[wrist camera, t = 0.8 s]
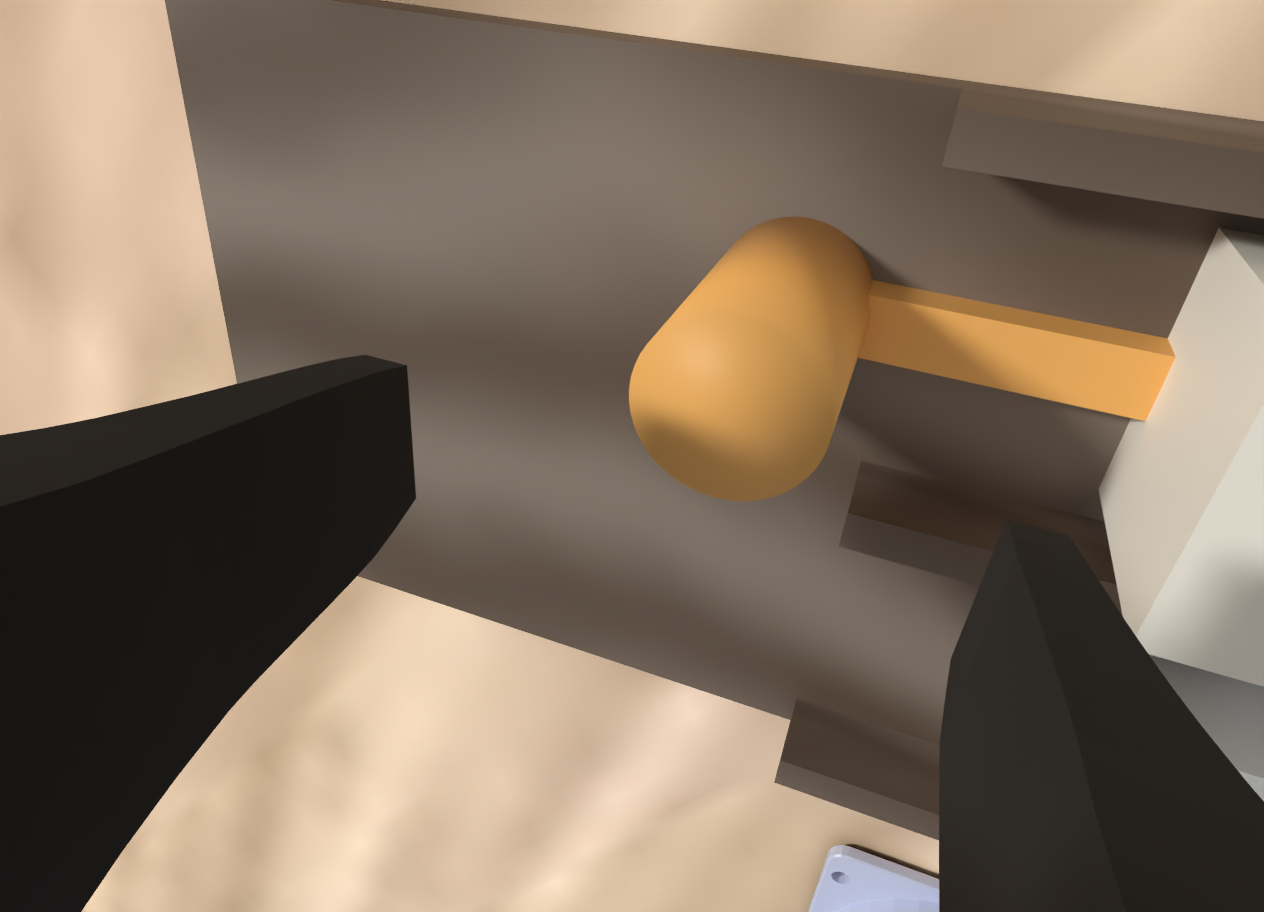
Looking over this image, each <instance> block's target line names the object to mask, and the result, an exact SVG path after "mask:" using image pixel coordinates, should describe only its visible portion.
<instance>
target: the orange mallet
mask: <svg viewBox="0 0 1264 912" xmlns="http://www.w3.org/2000/svg"><path fill="white" fill-rule="evenodd" d="M857 358H862V359H867V360H871V361H876V362H880V363H885V364H889V365H894V366H898V367H903V368H907V369H912V370H916V371H921V372H925V373H930V374H934V375H939V376H943V377H948V378H952V379H957V380H961V381H966V382H970V383H975V384H979V385H984V386H988V387H993V388H998V389H1002V390H1007V391H1011V392H1016V393H1020V394H1025V395H1029V396H1034V397H1038V398H1043V399H1047V400H1052V401H1056V402H1061V403H1065V404H1070V405H1074V406H1079V407H1083V408H1088V409H1092V410H1097V411H1101V412H1106V413H1110V414H1115V415H1119V416H1124V417H1128V418H1131V420H1130V422H1129V424H1128V426H1127V428H1126V430H1125V433H1124V435H1123V437H1122V439H1121V441H1120V443H1119V446H1118V448H1117V450H1116V452H1115V454H1114V456H1113V459H1112V461H1111V463H1110V465H1109V467H1108V469H1107V472H1106V474H1105V476H1104V478H1103V480H1102V483H1101V485H1100V487H1099V495H1100V500H1101V505H1102V510H1103V516H1104V521H1105V526H1106V531H1107V537H1108V542H1109V547H1110V552H1111V558H1112V563H1113V568H1114V573H1115V579H1116V584H1117V589H1118V594H1119V600H1120V605H1121V610H1122V615H1123V618H1124V619H1125V621H1126V622H1127V624H1128V625H1129V627H1130V628H1131V630H1132V631H1133V632H1134V634H1135V635H1136V637H1137V638H1138V640H1139V641H1140V643H1141V644H1142V646H1143V647H1144V648H1145V650H1146V651H1147V653H1148V654H1150V655H1153V656H1157V657H1160V658H1164V659H1168V660H1171V661H1175V662H1178V663H1182V664H1185V665H1189V666H1192V667H1196V668H1199V669H1203V670H1206V671H1210V672H1213V673H1217V674H1220V675H1224V676H1227V677H1231V678H1235V679H1238V680H1242V681H1245V682H1249V683H1252V684H1256V685H1259V686H1263V687H1264V235H1260V234H1254V233H1248V232H1242V231H1236V230H1230V229H1224V228H1218V231H1217V233H1216V235H1215V237H1214V239H1213V241H1212V244H1211V246H1210V248H1209V250H1208V252H1207V254H1206V257H1205V259H1204V261H1203V263H1202V265H1201V267H1200V270H1199V272H1198V274H1197V276H1196V278H1195V280H1194V283H1193V285H1192V287H1191V289H1190V291H1189V294H1188V296H1187V298H1186V300H1185V302H1184V304H1183V307H1182V309H1181V311H1180V313H1179V315H1178V317H1177V320H1176V322H1175V324H1174V326H1173V328H1172V330H1171V333H1170V335H1169V337H1168V338H1163V337H1158V336H1153V335H1147V334H1142V333H1137V332H1132V331H1127V330H1122V329H1117V328H1112V327H1107V326H1102V325H1097V324H1092V323H1087V322H1082V321H1077V320H1072V319H1067V318H1062V317H1057V316H1052V315H1047V314H1042V313H1037V312H1032V311H1026V310H1021V309H1016V308H1011V307H1006V306H1001V305H996V304H991V303H986V302H981V301H976V300H971V299H966V298H961V297H956V296H951V295H946V294H941V293H936V292H931V291H926V290H921V289H916V288H910V287H905V286H900V285H895V284H890V283H885V282H880V281H875V280H873V277H872V273H871V270H870V267H869V265H868V262H867V260H866V259H865V257H864V255H863V253H862V252H861V251H860V249H859V248H858V247H857V245H856V244H855V243H854V242H853V241H852V240H851V239H850V238H849V237H848V236H846V235H845V234H844V233H842V232H841V231H840V230H838V229H837V228H835V227H833V226H831V225H829V224H827V223H824V222H822V221H819V220H816V219H812V218H806V217H781V218H776V219H772V220H769V221H766V222H763V223H761V224H759V225H757V226H755V227H753V228H752V229H750V230H748V231H747V232H746V233H745V234H743V235H742V236H741V237H740V238H739V239H738V240H737V241H736V242H735V243H734V244H733V245H732V246H731V248H730V249H729V250H728V251H727V252H726V253H725V255H724V256H723V257H722V258H721V259H720V260H719V262H718V263H717V264H716V265H715V266H714V267H713V268H712V270H711V271H710V272H709V273H708V274H707V275H706V277H705V278H704V279H703V280H702V281H701V282H700V283H699V285H698V286H697V287H696V288H695V289H694V290H693V292H692V293H691V294H690V295H689V296H688V297H687V298H686V300H685V301H684V302H683V303H682V304H681V305H680V307H679V308H678V309H677V310H676V311H675V312H674V313H673V315H672V316H671V317H670V318H669V319H668V320H667V322H666V323H665V324H664V325H663V326H662V327H661V328H660V330H659V331H658V332H657V333H656V334H655V335H654V337H653V338H652V339H651V340H650V341H649V342H648V343H647V345H646V346H645V348H644V349H643V350H642V352H641V353H640V355H639V357H638V359H637V361H636V363H635V365H634V368H633V372H632V375H631V379H630V386H629V405H630V412H631V416H632V420H633V424H634V427H635V429H636V432H637V434H638V436H639V438H640V440H641V442H642V444H643V445H644V447H645V448H646V450H647V451H648V453H649V454H650V456H651V457H652V458H653V459H654V460H655V461H656V462H657V464H658V465H659V466H660V467H661V468H662V469H664V470H665V471H666V472H667V473H668V474H669V475H671V476H672V477H673V478H675V479H676V480H677V481H679V482H680V483H682V484H684V485H686V486H687V487H689V488H691V489H693V490H695V491H698V492H700V493H702V494H705V495H708V496H712V497H715V498H720V499H725V500H733V501H754V500H762V499H766V498H770V497H774V496H777V495H779V494H782V493H784V492H787V491H789V490H790V489H792V488H794V487H796V486H797V485H799V484H800V483H801V482H803V481H804V480H805V479H806V478H807V477H808V476H809V475H810V474H811V473H812V472H813V471H814V470H815V469H816V468H817V466H818V465H819V463H820V462H821V461H822V459H823V457H824V455H825V453H826V451H827V449H828V446H829V443H830V440H831V437H832V434H833V431H834V428H835V425H836V422H837V419H838V416H839V413H840V410H841V407H842V404H843V401H844V398H845V394H846V391H847V388H848V385H849V382H850V379H851V376H852V373H853V370H854V367H855V364H856V361H857Z"/></svg>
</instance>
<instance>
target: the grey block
mask: <svg viewBox="0 0 1264 912" xmlns="http://www.w3.org/2000/svg"><path fill="white" fill-rule="evenodd" d="M1149 655H1150V654H1149ZM1150 657H1151V658H1152V660H1153V661H1154V663H1155V664H1156V665H1157V667H1158V668H1159V670H1160V671H1161V672H1162V674H1163V675H1164V676H1165V678H1166V679H1167V681H1168V682H1169V683H1170V685H1171V686H1172V687H1173V689H1174V690H1175V691H1176V693H1177V694H1178V695H1179V697H1180V698H1181V699H1182V701H1183V702H1184V703H1185V705H1186V706H1187V707H1188V709H1189V710H1190V711H1191V713H1192V714H1193V715H1194V717H1195V718H1196V719H1197V721H1198V722H1199V723H1200V724H1201V725H1202V727H1203V728H1204V729H1205V730H1206V732H1207V733H1208V734H1209V735H1210V737H1211V738H1212V739H1213V740H1214V742H1215V743H1216V744H1217V745H1218V747H1219V748H1220V749H1221V750H1222V752H1223V753H1224V754H1225V755H1226V757H1227V758H1228V759H1229V760H1230V762H1231V763H1232V764H1233V765H1234V766H1235V768H1236V769H1237V770H1238V771H1239V773H1240V774H1241V775H1242V776H1243V778H1244V779H1245V780H1246V781H1247V782H1248V784H1249V785H1250V786H1251V787H1252V788H1253V790H1254V791H1255V792H1256V793H1257V794H1258V795H1259V796H1260V798H1261V799H1262V800H1263V801H1264V687H1263V686H1259V685H1256V684H1252V683H1249V682H1245V681H1242V680H1238V679H1235V678H1231V677H1227V676H1224V675H1220V674H1217V673H1213V672H1210V671H1206V670H1203V669H1199V668H1196V667H1192V666H1189V665H1185V664H1182V663H1178V662H1175V661H1171V660H1168V659H1164V658H1160V657H1157V656H1153V655H1150Z"/></svg>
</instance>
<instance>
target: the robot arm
mask: <svg viewBox="0 0 1264 912" xmlns="http://www.w3.org/2000/svg"><path fill="white" fill-rule="evenodd" d="M415 499H416V488H415V473H414V459H413V444H412V430H411V415H410V400H409V386H408V371H407V365H404V364H400V363H396V362H392V361H388V360H384V359H380V358H377V357H373V356H369V355H360V356H353V357H346V358H340V359H335V360H331V361H326V362H321V363H317V364H313V365H308V366H304V367H300V368H296V369H292V370H288V371H284V372H281V373H277V374H273V375H269V376H265V377H261V378H258V379H254V380H250V381H246V382H242V383H238V384H235V385H231V386H227V387H223V388H219V389H216V390H212V391H208V392H204V393H200V394H197V395H193V396H189V397H184V398H180V399H176V400H172V401H167V402H163V403H159V404H155V405H150V406H146V407H142V408H137V409H133V410H129V411H125V412H120V413H116V414H112V415H108V416H103V417H99V418H94V419H89V420H84V421H80V422H75V423H70V424H64V425H59V426H54V427H48V428H43V429H37V430H31V431H25V432H18V433H12V434H6V435H0V912H81V911H82V910H83V908H84V907H85V905H86V904H87V902H88V901H89V899H90V898H91V896H92V895H93V893H94V892H95V890H96V889H97V888H98V886H99V885H100V883H101V882H102V880H103V879H104V877H105V876H106V874H107V873H108V871H109V870H110V868H111V867H112V865H113V864H114V863H115V861H116V860H117V858H118V857H119V855H120V854H121V852H122V851H123V849H124V848H125V847H126V845H127V844H128V843H129V841H130V840H131V839H132V837H133V836H134V834H135V833H136V832H137V830H138V829H139V828H140V826H141V825H142V824H143V822H144V821H145V819H146V818H147V817H148V815H149V814H150V813H151V811H152V810H153V809H154V807H155V806H156V805H157V803H158V802H159V800H160V799H161V798H162V796H163V795H164V794H165V792H166V791H167V790H168V788H169V787H170V785H171V784H172V783H173V781H174V780H175V779H176V777H177V776H178V775H179V773H180V772H181V771H182V770H183V768H184V767H185V766H186V765H187V763H188V762H189V761H190V760H191V758H192V757H193V756H194V754H195V753H196V752H197V751H198V749H199V748H200V747H201V746H202V744H203V743H204V742H205V740H206V739H207V738H208V737H209V735H210V734H211V733H212V732H213V730H214V729H215V728H216V726H217V725H218V724H219V723H220V721H221V720H222V719H223V718H224V716H225V715H226V714H227V713H228V711H229V710H230V709H231V708H232V707H233V706H234V705H235V703H236V702H237V701H238V700H239V699H240V698H241V697H242V696H243V694H244V693H245V692H246V691H247V690H248V689H249V688H250V687H251V685H252V684H253V683H254V682H255V681H256V680H257V679H258V678H259V677H260V676H261V675H262V674H263V673H264V672H265V671H266V670H267V669H268V668H269V667H270V666H271V665H272V664H273V662H274V661H275V660H276V659H277V658H278V657H279V656H280V655H281V654H282V653H283V652H284V651H285V650H286V649H287V648H288V647H289V646H290V645H291V644H292V643H293V642H294V641H295V640H296V639H297V638H298V637H299V636H300V635H301V634H302V633H303V632H304V631H305V630H306V628H307V627H308V626H309V625H310V624H311V623H312V622H313V621H314V620H315V619H316V618H317V617H318V616H319V615H320V614H321V613H322V612H323V611H324V610H325V609H326V608H327V607H328V606H329V605H330V604H331V603H332V602H333V601H334V600H335V599H336V598H337V596H338V595H339V594H340V593H341V592H342V591H343V590H344V589H345V588H346V587H347V586H348V585H349V584H350V583H351V582H352V581H353V580H354V579H355V578H356V576H357V575H358V574H359V573H360V572H361V571H362V570H363V569H364V568H365V567H366V566H367V565H368V564H369V562H370V561H371V560H372V559H373V558H374V557H375V556H376V554H377V553H378V552H379V550H380V549H381V548H382V546H383V545H384V544H385V542H386V541H387V540H388V538H389V537H390V536H391V534H392V533H393V532H394V530H395V529H396V527H397V526H398V524H399V523H400V521H401V520H402V518H403V517H404V515H405V514H406V512H407V511H408V510H409V508H410V507H411V505H412V504H413V502H414V501H415ZM808 912H1264V801H1263V800H1262V799H1261V798H1260V796H1259V795H1258V794H1257V793H1256V792H1255V791H1254V790H1253V788H1252V787H1251V786H1250V785H1249V784H1248V782H1247V781H1246V780H1245V779H1244V778H1243V776H1242V775H1241V774H1240V773H1239V771H1238V770H1237V769H1236V768H1235V766H1234V765H1233V764H1232V763H1231V762H1230V760H1229V759H1228V758H1227V757H1226V755H1225V754H1224V753H1223V752H1222V750H1221V749H1220V748H1219V747H1218V745H1217V744H1216V743H1215V742H1214V740H1213V739H1212V738H1211V737H1210V735H1209V734H1208V733H1207V732H1206V730H1205V729H1204V728H1203V727H1202V725H1201V724H1200V723H1199V722H1198V721H1197V719H1196V718H1195V717H1194V715H1193V714H1192V713H1191V711H1190V710H1189V709H1188V707H1187V706H1186V705H1185V703H1184V702H1183V701H1182V699H1181V698H1180V697H1179V695H1178V694H1177V693H1176V691H1175V690H1174V689H1173V687H1172V686H1171V685H1170V683H1169V682H1168V681H1167V679H1166V678H1165V676H1164V675H1163V674H1162V672H1161V671H1160V670H1159V668H1158V667H1157V665H1156V664H1155V663H1154V661H1153V660H1152V658H1151V657H1150V655H1149V654H1148V653H1147V651H1146V650H1145V648H1144V647H1143V646H1142V644H1141V643H1140V641H1139V640H1138V638H1137V637H1136V635H1135V634H1134V632H1133V631H1132V630H1131V628H1130V627H1129V625H1128V624H1127V622H1126V621H1125V619H1124V618H1123V616H1122V615H1121V613H1120V612H1119V610H1118V609H1117V607H1116V606H1115V604H1114V603H1113V601H1112V600H1111V598H1110V597H1109V595H1108V594H1107V592H1106V591H1105V589H1104V588H1103V586H1102V585H1101V583H1100V582H1099V580H1098V578H1097V577H1096V575H1095V574H1094V572H1093V571H1092V569H1091V568H1090V566H1089V565H1088V563H1087V562H1086V560H1085V559H1084V557H1083V556H1082V554H1081V552H1080V551H1079V550H1078V548H1077V547H1076V545H1075V544H1074V542H1073V541H1072V539H1071V538H1070V537H1069V535H1066V534H1062V533H1058V532H1054V531H1051V530H1047V529H1043V528H1039V527H1035V526H1031V525H1027V524H1023V523H1019V522H1015V521H1012V520H1008V519H1006V522H1005V524H1004V527H1003V529H1002V532H1001V534H1000V537H999V539H998V542H997V544H996V547H995V549H994V552H993V554H992V557H991V559H990V562H989V564H988V567H987V569H986V572H985V574H984V577H983V579H982V582H981V584H980V587H979V589H978V592H977V594H976V597H975V599H974V602H973V604H972V607H971V609H970V612H969V614H968V617H967V619H966V622H965V624H964V627H963V629H962V632H961V634H960V637H959V639H958V642H957V644H956V647H955V649H954V652H953V654H952V657H951V661H950V668H949V675H948V682H947V689H946V696H945V703H944V711H943V719H942V727H941V734H940V761H939V879H938V878H935V877H932V876H929V875H927V874H924V873H921V872H918V871H916V870H913V869H910V868H907V867H905V866H902V865H899V864H896V863H894V862H891V861H888V860H885V859H883V858H880V857H877V856H874V855H872V854H869V853H866V852H863V851H861V850H858V849H855V848H852V847H850V846H845V845H837V846H834V847H832V848H831V849H830V850H829V852H828V855H827V858H826V861H825V863H824V866H823V869H822V872H821V875H820V878H819V881H818V883H817V886H816V889H815V892H814V895H813V898H812V901H811V903H810V906H809V909H808Z"/></svg>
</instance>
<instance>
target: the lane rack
mask: <svg viewBox="0 0 1264 912" xmlns="http://www.w3.org/2000/svg"><path fill="white" fill-rule="evenodd" d="M165 3H166V9H167V14H168V19H169V25H170V30H171V35H172V41H173V46H174V51H175V56H176V62H177V67H178V72H179V78H180V83H181V88H182V94H183V99H184V104H185V109H186V115H187V120H188V125H189V131H190V136H191V141H192V146H193V152H194V157H195V162H196V168H197V173H198V178H199V184H200V189H201V194H202V199H203V205H204V210H205V215H206V221H207V226H208V231H209V236H210V242H211V247H212V252H213V258H214V263H215V268H216V274H217V279H218V284H219V289H220V295H221V300H222V305H223V311H224V316H225V321H226V326H227V332H228V337H229V342H230V348H231V353H232V358H233V364H234V369H235V374H236V379H237V384H238V383H242V382H246V381H250V380H254V379H258V378H261V377H265V376H269V375H273V374H277V373H281V372H284V371H288V370H292V369H296V368H300V367H304V366H308V365H313V364H317V363H321V362H326V361H331V360H335V359H340V358H346V357H353V356H360V355H369V356H373V357H377V358H380V359H384V360H388V361H392V362H396V363H400V364H404V365H407V371H408V386H409V400H410V415H411V430H412V444H413V459H414V473H415V488H416V499H415V501H414V502H413V504H412V505H411V507H410V508H409V510H408V511H407V512H406V514H405V515H404V517H403V518H402V520H401V521H400V523H399V524H398V526H397V527H396V529H395V530H394V532H393V533H392V534H391V536H390V537H389V538H388V540H387V541H386V542H385V544H384V545H383V546H382V548H381V549H380V550H379V552H378V553H377V554H376V556H375V557H374V558H373V559H372V560H371V561H370V562H369V564H368V565H367V566H366V567H365V568H364V569H363V570H362V571H361V572H360V573H359V574H358V575H357V576H359V577H362V578H365V579H368V580H371V581H374V582H377V583H380V584H383V585H386V586H389V587H392V588H395V589H398V590H401V591H404V592H407V593H410V594H413V595H416V596H419V597H422V598H425V599H428V600H431V601H434V602H437V603H440V604H443V605H446V606H450V607H453V608H456V609H459V610H462V611H465V612H468V613H471V614H474V615H477V616H480V617H483V618H486V619H489V620H492V621H495V622H498V623H501V624H504V625H507V626H510V627H513V628H516V629H519V630H522V631H525V632H528V633H531V634H534V635H537V636H540V637H543V638H546V639H549V640H552V641H555V642H558V643H561V644H564V645H567V646H570V647H573V648H576V649H579V650H582V651H585V652H588V653H591V654H594V655H597V656H600V657H603V658H606V659H609V660H612V661H615V662H618V663H621V664H624V665H627V666H630V667H633V668H636V669H639V670H642V671H645V672H648V673H651V674H654V675H657V676H660V677H663V678H666V679H669V680H672V681H675V682H678V683H681V684H684V685H687V686H690V687H693V688H696V689H699V690H702V691H705V692H708V693H711V694H714V695H717V696H720V697H723V698H726V699H729V700H732V701H735V702H738V703H741V704H744V705H747V706H750V707H753V708H756V709H759V710H762V711H765V712H768V713H771V714H774V715H777V716H780V717H783V718H786V719H789V720H791V721H790V725H789V729H788V733H787V736H786V740H785V744H784V748H783V752H782V755H781V759H780V763H779V767H778V771H777V775H776V778H775V783H778V784H781V785H783V786H786V787H789V788H792V789H795V790H798V791H800V792H803V793H806V794H809V795H812V796H815V797H817V798H820V799H823V800H826V801H829V802H832V803H834V804H837V805H840V806H843V807H846V808H849V809H851V810H854V811H857V812H860V813H863V814H866V815H868V816H871V817H874V818H877V819H880V820H883V821H885V822H888V823H891V824H894V825H897V826H900V827H903V828H905V829H908V830H911V831H914V832H917V833H920V834H922V835H925V836H928V837H931V838H934V839H937V840H939V761H940V734H941V727H942V719H943V711H944V703H945V696H946V689H947V682H948V675H949V668H950V661H951V657H952V654H953V652H954V649H955V647H956V644H957V642H958V639H959V637H960V634H961V632H962V629H963V627H964V624H965V622H966V619H967V617H968V614H969V612H970V609H971V607H972V604H973V602H974V599H975V597H976V594H977V592H978V589H979V587H980V584H981V582H982V579H983V577H984V574H985V572H986V569H987V567H988V564H989V562H990V559H991V557H992V554H993V552H994V549H995V547H996V544H997V542H998V539H999V537H1000V534H1001V532H1002V529H1003V527H1004V524H1005V522H1006V519H1008V520H1012V521H1015V522H1019V523H1023V524H1027V525H1031V526H1035V527H1039V528H1043V529H1047V530H1051V531H1054V532H1058V533H1062V534H1066V535H1069V537H1070V538H1071V539H1072V541H1073V542H1074V544H1075V545H1076V547H1077V548H1078V550H1079V551H1080V552H1081V554H1082V556H1083V557H1084V559H1085V560H1086V562H1087V563H1088V565H1089V566H1090V568H1091V569H1092V571H1093V572H1094V574H1095V575H1096V577H1097V578H1098V580H1099V582H1100V583H1101V585H1102V586H1103V588H1104V589H1105V591H1106V592H1107V594H1108V595H1109V597H1110V598H1111V600H1112V601H1113V603H1114V604H1115V606H1116V607H1117V609H1118V610H1119V612H1120V613H1121V615H1122V610H1121V605H1120V600H1119V594H1118V589H1117V584H1116V579H1115V573H1114V568H1113V563H1112V558H1111V552H1110V547H1109V542H1108V537H1107V531H1106V526H1105V521H1104V516H1103V510H1102V505H1101V500H1100V495H1099V487H1100V485H1101V483H1102V480H1103V478H1104V476H1105V474H1106V472H1107V469H1108V467H1109V465H1110V463H1111V461H1112V459H1113V456H1114V454H1115V452H1116V450H1117V448H1118V446H1119V443H1120V441H1121V439H1122V437H1123V435H1124V433H1125V430H1126V428H1127V426H1128V424H1129V422H1130V420H1131V418H1128V417H1124V416H1119V415H1115V414H1110V413H1106V412H1101V411H1097V410H1092V409H1088V408H1083V407H1079V406H1074V405H1070V404H1065V403H1061V402H1056V401H1052V400H1047V399H1043V398H1038V397H1034V396H1029V395H1025V394H1020V393H1016V392H1011V391H1007V390H1002V389H998V388H993V387H988V386H984V385H979V384H975V383H970V382H966V381H961V380H957V379H952V378H948V377H943V376H939V375H934V374H930V373H925V372H921V371H916V370H912V369H907V368H903V367H898V366H894V365H889V364H885V363H880V362H876V361H871V360H867V359H862V358H857V361H856V364H855V367H854V370H853V373H852V376H851V379H850V382H849V385H848V388H847V391H846V394H845V398H844V401H843V404H842V407H841V410H840V413H839V416H838V419H837V422H836V425H835V428H834V431H833V434H832V437H831V440H830V443H829V446H828V449H827V451H826V453H825V455H824V457H823V459H822V461H821V462H820V463H819V465H818V466H817V468H816V469H815V470H814V471H813V472H812V473H811V474H810V475H809V476H808V477H807V478H806V479H805V480H804V481H803V482H801V483H800V484H799V485H797V486H796V487H794V488H792V489H790V490H789V491H787V492H784V493H782V494H779V495H777V496H774V497H770V498H766V499H762V500H754V501H733V500H725V499H720V498H715V497H712V496H708V495H705V494H702V493H700V492H698V491H695V490H693V489H691V488H689V487H687V486H686V485H684V484H682V483H680V482H679V481H677V480H676V479H675V478H673V477H672V476H671V475H669V474H668V473H667V472H666V471H665V470H664V469H662V468H661V467H660V466H659V465H658V464H657V462H656V461H655V460H654V459H653V458H652V457H651V456H650V454H649V453H648V451H647V450H646V448H645V447H644V445H643V444H642V442H641V440H640V438H639V436H638V434H637V432H636V429H635V427H634V424H633V420H632V416H631V412H630V405H629V386H630V379H631V375H632V372H633V368H634V365H635V363H636V361H637V359H638V357H639V355H640V353H641V352H642V350H643V349H644V348H645V346H646V345H647V343H648V342H649V341H650V340H651V339H652V338H653V337H654V335H655V334H656V333H657V332H658V331H659V330H660V328H661V327H662V326H663V325H664V324H665V323H666V322H667V320H668V319H669V318H670V317H671V316H672V315H673V313H674V312H675V311H676V310H677V309H678V308H679V307H680V305H681V304H682V303H683V302H684V301H685V300H686V298H687V297H688V296H689V295H690V294H691V293H692V292H693V290H694V289H695V288H696V287H697V286H698V285H699V283H700V282H701V281H702V280H703V279H704V278H705V277H706V275H707V274H708V273H709V272H710V271H711V270H712V268H713V267H714V266H715V265H716V264H717V263H718V262H719V260H720V259H721V258H722V257H723V256H724V255H725V253H726V252H727V251H728V250H729V249H730V248H731V246H732V245H733V244H734V243H735V242H736V241H737V240H738V239H739V238H740V237H741V236H742V235H743V234H745V233H746V232H747V231H748V230H750V229H752V228H753V227H755V226H757V225H759V224H761V223H763V222H766V221H769V220H772V219H776V218H781V217H806V218H812V219H816V220H819V221H822V222H824V223H827V224H829V225H831V226H833V227H835V228H837V229H838V230H840V231H841V232H842V233H844V234H845V235H846V236H848V237H849V238H850V239H851V240H852V241H853V242H854V243H855V244H856V245H857V247H858V248H859V249H860V251H861V252H862V253H863V255H864V257H865V259H866V260H867V262H868V265H869V267H870V270H871V273H872V277H873V280H875V281H880V282H885V283H890V284H895V285H900V286H905V287H910V288H916V289H921V290H926V291H931V292H936V293H941V294H946V295H951V296H956V297H961V298H966V299H971V300H976V301H981V302H986V303H991V304H996V305H1001V306H1006V307H1011V308H1016V309H1021V310H1026V311H1032V312H1037V313H1042V314H1047V315H1052V316H1057V317H1062V318H1067V319H1072V320H1077V321H1082V322H1087V323H1092V324H1097V325H1102V326H1107V327H1112V328H1117V329H1122V330H1127V331H1132V332H1137V333H1142V334H1147V335H1153V336H1158V337H1163V338H1168V337H1169V335H1170V333H1171V330H1172V328H1173V326H1174V324H1175V322H1176V320H1177V317H1178V315H1179V313H1180V311H1181V309H1182V307H1183V304H1184V302H1185V300H1186V298H1187V296H1188V294H1189V291H1190V289H1191V287H1192V285H1193V283H1194V280H1195V278H1196V276H1197V274H1198V272H1199V270H1200V267H1201V265H1202V263H1203V261H1204V259H1205V257H1206V254H1207V252H1208V250H1209V248H1210V246H1211V244H1212V241H1213V239H1214V237H1215V235H1216V233H1217V231H1218V228H1224V229H1230V230H1236V231H1242V232H1248V233H1254V234H1260V235H1264V122H1262V121H1254V120H1247V119H1240V118H1233V117H1225V116H1218V115H1211V114H1204V113H1196V112H1189V111H1182V110H1174V109H1167V108H1160V107H1153V106H1145V105H1138V104H1131V103H1123V102H1116V101H1109V100H1102V99H1094V98H1087V97H1080V96H1072V95H1065V94H1058V93H1051V92H1043V91H1036V90H1029V89H1021V88H1014V87H1007V86H1000V85H992V84H985V83H978V82H971V81H963V80H956V79H949V78H941V77H934V76H927V75H920V74H912V73H905V72H898V71H890V70H883V69H876V68H869V67H861V66H854V65H847V64H839V63H832V62H825V61H818V60H810V59H803V58H796V57H789V56H781V55H774V54H767V53H759V52H752V51H745V50H738V49H730V48H723V47H716V46H708V45H701V44H694V43H687V42H679V41H672V40H665V39H657V38H650V37H643V36H636V35H628V34H621V33H614V32H606V31H599V30H592V29H585V28H577V27H570V26H563V25H556V24H548V23H541V22H534V21H526V20H519V19H512V18H505V17H497V16H490V15H483V14H475V13H468V12H461V11H454V10H446V9H439V8H432V7H424V6H417V5H410V4H403V3H395V2H388V1H381V0H165ZM1122 616H1123V615H1122Z"/></svg>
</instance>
